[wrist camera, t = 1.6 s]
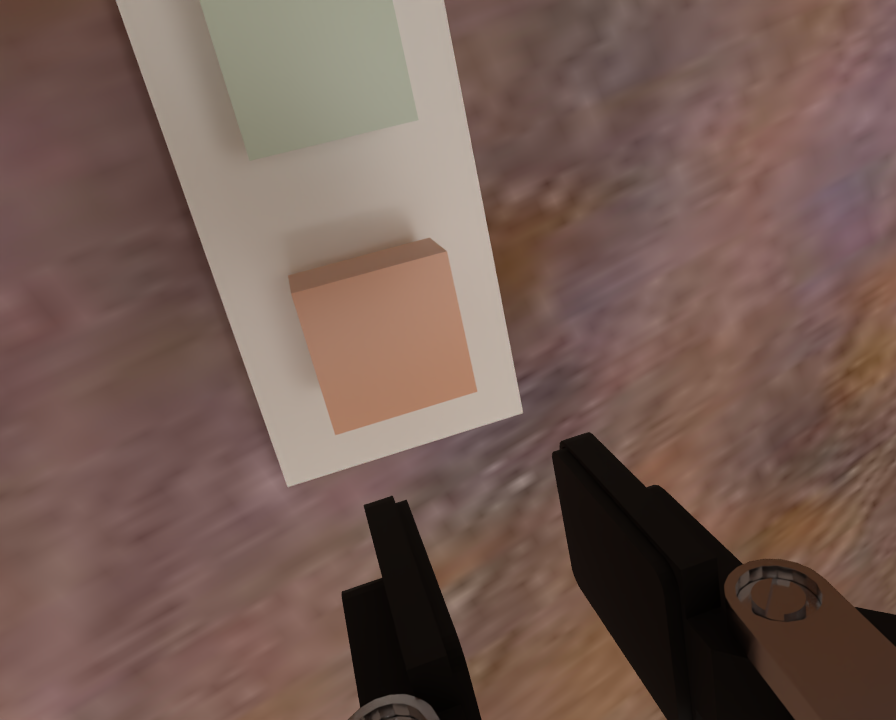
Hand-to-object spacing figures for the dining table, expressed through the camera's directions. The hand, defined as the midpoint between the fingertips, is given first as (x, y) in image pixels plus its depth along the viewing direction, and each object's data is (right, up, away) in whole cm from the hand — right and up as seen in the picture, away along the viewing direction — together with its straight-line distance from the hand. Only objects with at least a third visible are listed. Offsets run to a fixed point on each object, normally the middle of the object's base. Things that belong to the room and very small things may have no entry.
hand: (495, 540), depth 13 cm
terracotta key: (-3, +5, +12) cm, 14 cm away
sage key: (-5, +13, +9) cm, 16 cm away
